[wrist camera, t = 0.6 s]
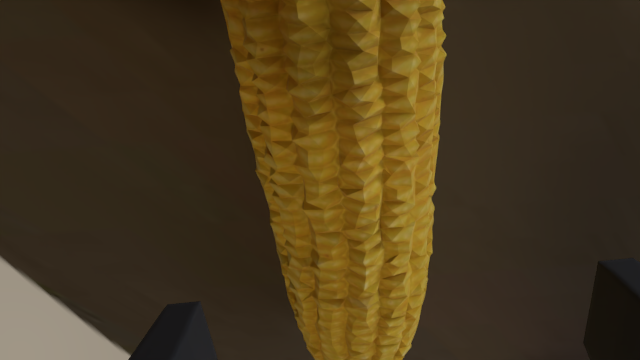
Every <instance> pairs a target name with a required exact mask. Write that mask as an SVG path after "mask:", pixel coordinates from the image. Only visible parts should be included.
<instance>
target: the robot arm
mask: <svg viewBox="0 0 640 360" xmlns="http://www.w3.org/2000/svg"><path fill="white" fill-rule="evenodd" d="M583 343H584V345H585V348H586V350H587V353H588V355H589V358H590V360H640V262H639V261H637V260H635V259H634V258H628V259H618V260H608V261H598V265H597V271H596V276H595V282H594V287H593V293H592V298H591V304H590V309H589V315H588V320H587V326H586V331H585V337H584V342H583ZM129 360H218V359H217V356H216V352H215V349H214V346H213V342H212V339H211V336H210V332H209V329H208V326H207V322H206V319H205V316H204V312H203V309H202V306H201V302H200V301H199V302H189V303H179V304H169V305H167V306H166V307H165V308H164V309H163V311H162V312H161V314H160V315H159V316H158V318H157V319H156V321H155V322H154V324H153V325H152V327H151V328H150V329H149V331H148V332H147V334H146V335H145V337H144V338H143V340H142V341H141V342H140V344H139V345H138V347H137V348H136V350H135V351H134V352H133V354H132V355H131V357H130V358H129Z"/></svg>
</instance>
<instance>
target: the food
mask: <svg viewBox="0 0 640 360" xmlns="http://www.w3.org/2000/svg"><path fill="white" fill-rule="evenodd" d="M220 1H221V5H222V9H223V12H224V16H225V20H226V24H227V29H228V34H229V39H230V42H231V46H232V48H231V49H230V52H231V55H232V57H233V60H234V62H235V73H236V76H237V78H238V80H239V83H240V90H239V94H240V96H241V101H242V111H243V112H244V116H245V121H246V127H247V130H246V131H247V133H248V136H249V138H250V141H251V143H252V146H253V149H254V152H255V159H256V166H257V168H256V169H255V171H256V173H257V175H258V177H259V179H260V181H261V184H262V187H263V189H264V192H265V196H266V199H267V202H268V205H269V210H270V225H271V227H272V229H273V233H274V237H275V241H276V246H277V249H276V250H277V253H278V256H279V259H280V263H281V269H282V274H283V276H284V278H285V284H286V289H287V295H288V298H289V301H290V304H291V306H292V309H293V311H294V313H295V318H296V320H297V323H298V328H299V329H300V330H301V332H302V333H303V337H304V341H306V344H307V347H306V348H307V349H308V350H309V352H310V353H311V355H312V356H313V357H314V359H315V360H402V359H403V357H404V355H405V354H406V353H407V351H408V350H409V349H410V348H411V342H412V339H413V337H414V334H415V332H416V329H417V325H418V322H419V318H420V312H421V307H422V304H423V301H424V297H425V292H426V286H427V281H428V279H427V274H428V265H429V259H430V255H431V254H432V253H433V251H432V240H433V239H432V225H433V222H434V218H433V213H434V209H435V207H434V205H433V202H432V200H431V199H432V196H433V194H434V192H435V190H436V186H435V183H434V177H435V168H436V160H437V153H438V143H439V135H438V132H439V127H440V107H441V93H442V86H443V61H444V59H445V57H446V55H447V54H446V52H445V51H444V50H443V48H442V47H441V45H442V43H443V41H444V39H445V37H446V34H445V33H444V31H443V29H442V20H443V19H444V16H443V13H442V12H443V10H444V9H445V5H444V3H443V1H442V0H220Z"/></svg>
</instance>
